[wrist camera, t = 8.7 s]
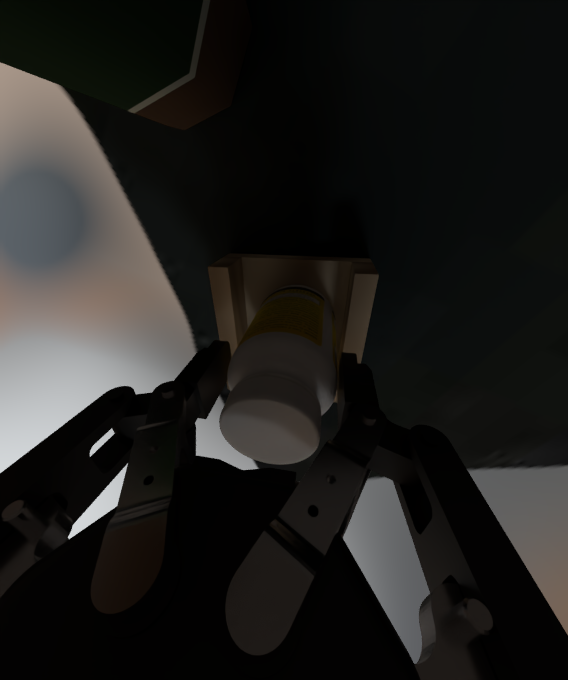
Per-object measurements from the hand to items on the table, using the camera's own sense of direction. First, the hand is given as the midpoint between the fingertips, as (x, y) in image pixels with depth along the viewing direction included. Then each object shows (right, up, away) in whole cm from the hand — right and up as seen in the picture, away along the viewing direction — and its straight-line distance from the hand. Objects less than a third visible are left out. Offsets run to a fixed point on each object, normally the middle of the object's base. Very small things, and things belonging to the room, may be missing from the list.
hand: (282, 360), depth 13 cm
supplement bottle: (+1, +3, +4) cm, 5 cm away
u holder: (+1, +3, +5) cm, 6 cm away
